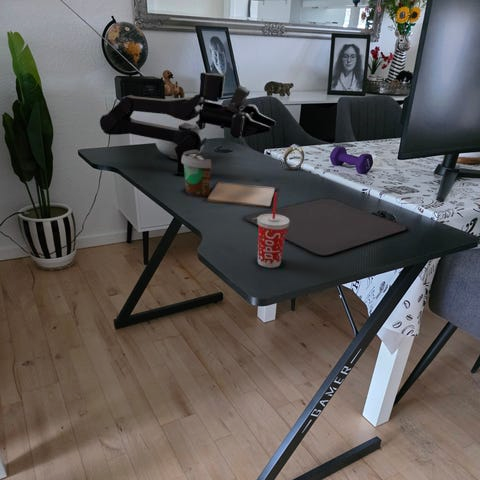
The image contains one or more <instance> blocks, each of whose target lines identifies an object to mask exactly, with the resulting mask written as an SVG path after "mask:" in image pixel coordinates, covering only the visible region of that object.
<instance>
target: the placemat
mask: <svg viewBox="0 0 480 480" xmlns="http://www.w3.org/2000/svg"><path fill="white" fill-rule="evenodd" d="M275 191H276V187H271V186H262V185H253V184H242V183H233V182H232V183H231V182H221V181H218V182H217V183H216V185H215V186H214V188H213V189H212V191H211V192H210V193H209V196H207V198H206V202H212V203H213V202H214V203H222V204H231V205H239V206H240V205H241V206H251V207H261V208H268V209H269V208H270V207H271V204H272V200H273V199H274V195H275Z"/></svg>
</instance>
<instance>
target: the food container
mask: <svg viewBox="0 0 480 480" xmlns="http://www.w3.org/2000/svg"><path fill="white" fill-rule="evenodd" d="M181 162H182V163H183V164H184V173H185V176H184V183H185V184H184V185H185V193H187V194H188V195H190V196H194V197H195V196H196V197H203V198H204V197H205V198H206V197H207V198H208V197H209V195H210V188H211V187H210V186H211V185H210V184H211V169H212V159H206V158H205V156H203V155H201V154H200V153H199V154H198V150H190V151H186V152H184V153H183V156H182V160H181Z"/></svg>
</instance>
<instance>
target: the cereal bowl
mask: <svg viewBox="0 0 480 480" xmlns="http://www.w3.org/2000/svg"><path fill="white" fill-rule="evenodd" d="M154 140H155V145H156V148H157V150H158V151H159V152H160V153H162V154H163V155H165V156H167V157H168V158H170V159H173V160H177V154H176V151H175V147H176V146H177V145H176V144H175V143H173V142H169V141H164V140H159V139H154ZM204 146H205V144H204V145H203V146H201V148H200V151H198V153H199V154H201V152H202V151H203V149H204V148H205V147H204Z"/></svg>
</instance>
